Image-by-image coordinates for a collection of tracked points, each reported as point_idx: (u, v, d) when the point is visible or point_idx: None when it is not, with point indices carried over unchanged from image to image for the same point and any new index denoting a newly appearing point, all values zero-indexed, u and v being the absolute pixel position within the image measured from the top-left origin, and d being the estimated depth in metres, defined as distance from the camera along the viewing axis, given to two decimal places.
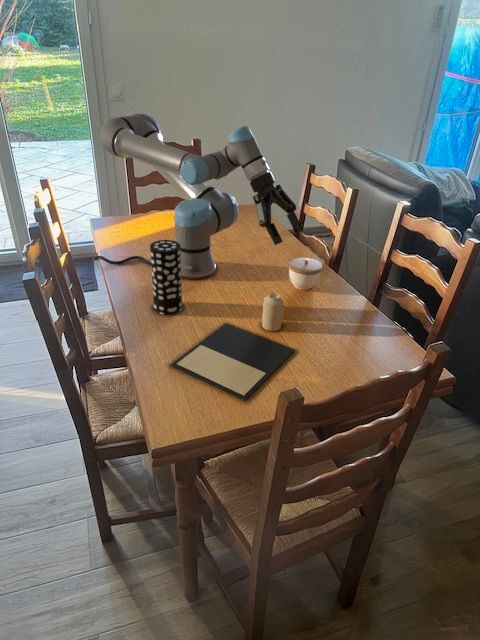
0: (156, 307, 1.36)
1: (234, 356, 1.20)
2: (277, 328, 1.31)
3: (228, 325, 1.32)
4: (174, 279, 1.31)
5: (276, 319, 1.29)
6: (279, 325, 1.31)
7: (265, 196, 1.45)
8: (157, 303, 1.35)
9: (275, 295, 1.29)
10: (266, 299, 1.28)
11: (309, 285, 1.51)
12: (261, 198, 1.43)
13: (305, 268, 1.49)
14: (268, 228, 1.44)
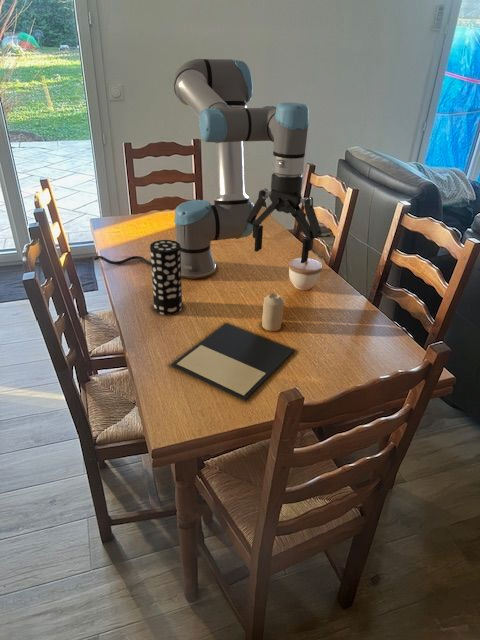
0: (156, 307, 1.36)
1: (234, 356, 1.20)
2: (277, 328, 1.31)
3: (228, 325, 1.32)
4: (174, 279, 1.31)
5: (276, 319, 1.29)
6: (279, 325, 1.31)
7: (270, 198, 1.17)
8: (157, 303, 1.35)
9: (275, 295, 1.29)
10: (266, 299, 1.28)
11: (309, 285, 1.51)
12: (260, 197, 1.18)
13: (305, 268, 1.49)
14: None
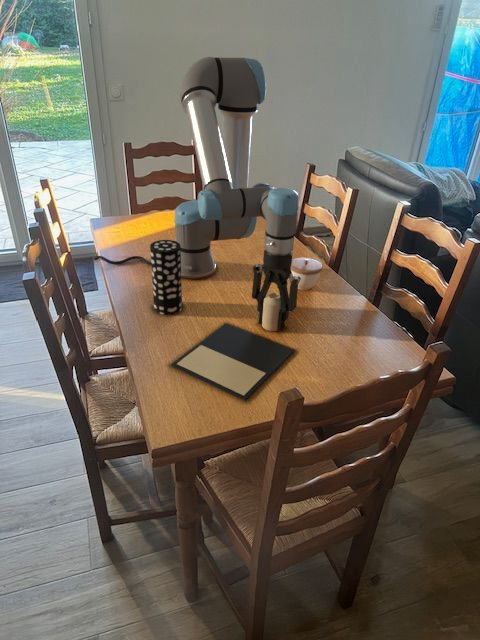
0: (156, 307, 1.36)
1: (234, 356, 1.20)
2: (277, 328, 1.31)
3: (228, 325, 1.32)
4: (174, 279, 1.31)
5: (276, 319, 1.29)
6: None
7: (263, 270, 1.25)
8: (157, 303, 1.35)
9: (275, 295, 1.29)
10: (266, 299, 1.28)
11: (309, 285, 1.51)
12: (255, 272, 1.27)
13: (305, 268, 1.49)
14: None
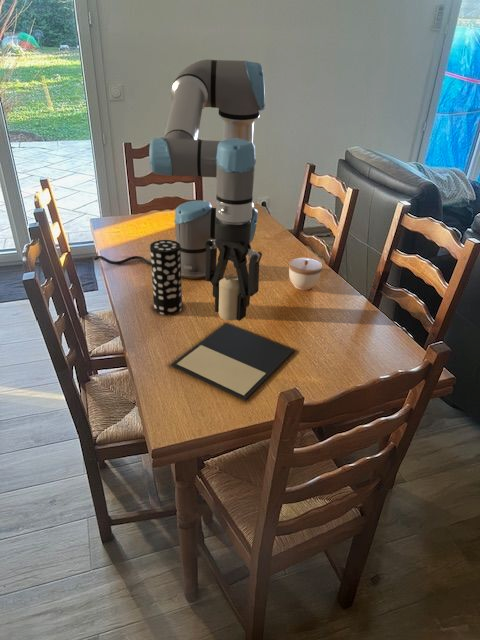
0: (156, 307, 1.36)
1: (234, 356, 1.20)
2: (236, 317, 1.08)
3: (228, 325, 1.32)
4: (174, 279, 1.31)
5: (235, 306, 1.06)
6: None
7: (216, 245, 1.02)
8: (157, 303, 1.35)
9: (233, 276, 1.06)
10: (222, 281, 1.05)
11: (309, 285, 1.51)
12: (208, 248, 1.04)
13: (305, 268, 1.49)
14: None
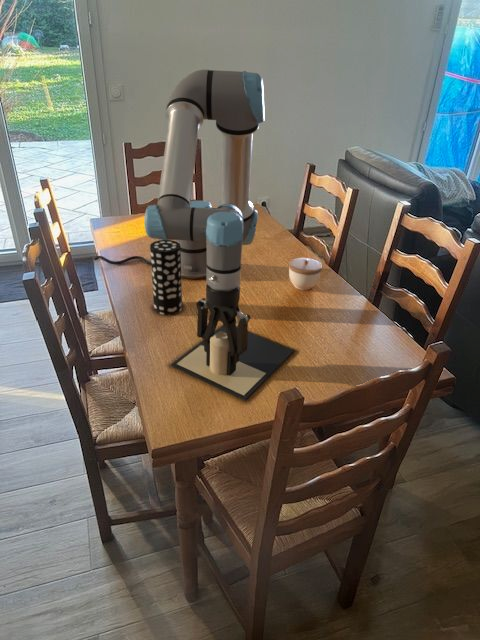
0: (156, 307, 1.36)
1: None
2: None
3: None
4: (174, 279, 1.31)
5: (225, 362, 1.11)
6: None
7: (207, 306, 1.07)
8: (157, 303, 1.35)
9: (223, 334, 1.11)
10: (212, 339, 1.10)
11: (309, 285, 1.51)
12: (199, 308, 1.09)
13: (305, 268, 1.49)
14: None
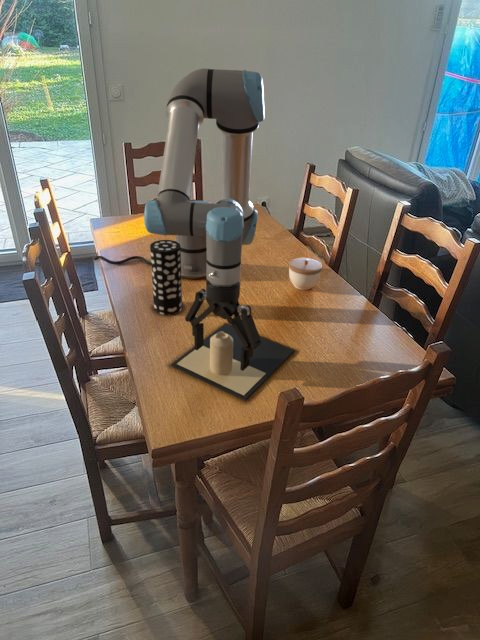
0: (156, 307, 1.36)
1: (234, 356, 1.20)
2: (227, 372, 1.13)
3: (228, 325, 1.32)
4: (174, 279, 1.31)
5: (225, 362, 1.11)
6: (229, 368, 1.13)
7: (207, 302, 1.07)
8: (157, 303, 1.35)
9: (223, 334, 1.11)
10: (212, 339, 1.10)
11: (309, 285, 1.51)
12: (197, 299, 1.08)
13: (305, 268, 1.49)
14: None
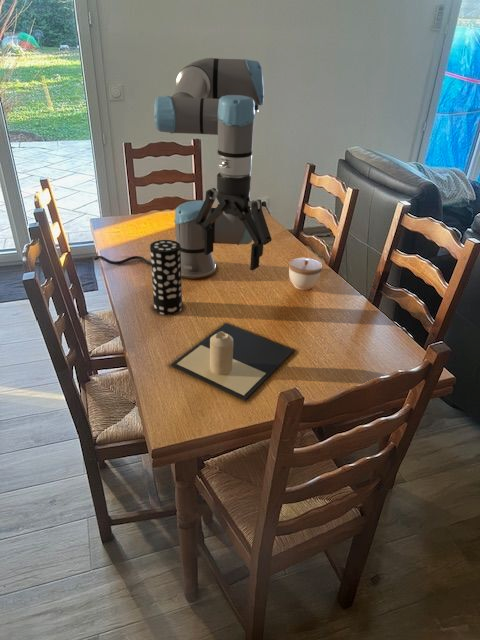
0: (156, 307, 1.36)
1: (234, 356, 1.20)
2: (227, 372, 1.13)
3: (228, 325, 1.32)
4: (174, 279, 1.31)
5: (225, 362, 1.11)
6: (229, 368, 1.13)
7: (218, 199, 1.08)
8: (157, 303, 1.35)
9: (223, 334, 1.11)
10: (212, 339, 1.10)
11: (309, 285, 1.51)
12: (207, 197, 1.09)
13: (305, 268, 1.49)
14: None
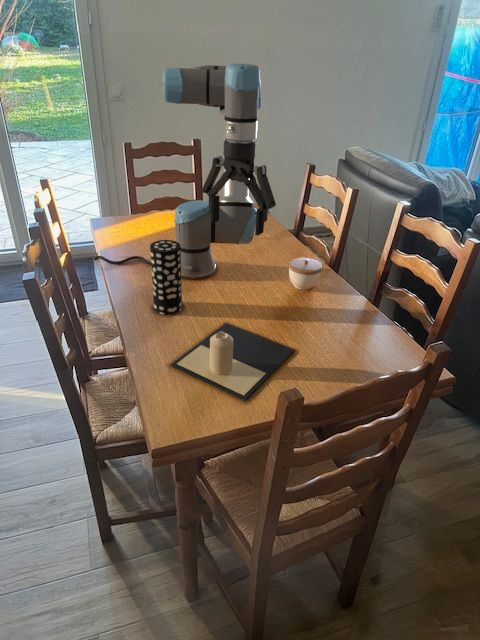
0: (156, 307, 1.36)
1: (234, 356, 1.20)
2: (227, 372, 1.13)
3: (228, 325, 1.32)
4: (174, 279, 1.31)
5: (225, 362, 1.11)
6: (229, 368, 1.13)
7: (224, 166, 1.12)
8: (157, 303, 1.35)
9: (223, 334, 1.11)
10: (212, 339, 1.10)
11: (309, 285, 1.51)
12: (214, 165, 1.13)
13: (305, 268, 1.49)
14: None
